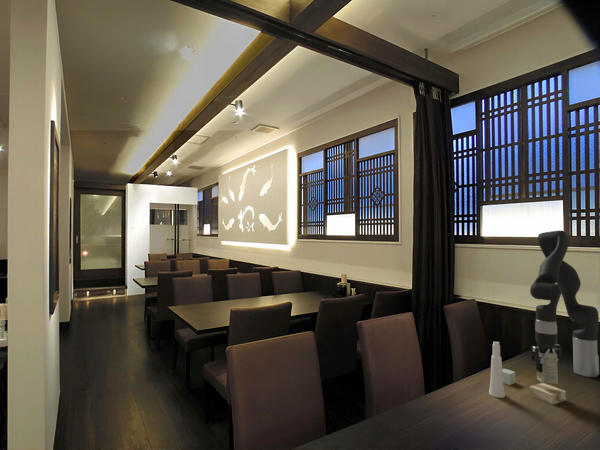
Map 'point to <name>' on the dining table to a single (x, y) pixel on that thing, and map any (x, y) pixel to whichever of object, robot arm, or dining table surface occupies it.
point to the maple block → (547, 393)
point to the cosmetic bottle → (496, 373)
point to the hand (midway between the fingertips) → (546, 370)
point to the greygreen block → (508, 376)
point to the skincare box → (548, 369)
